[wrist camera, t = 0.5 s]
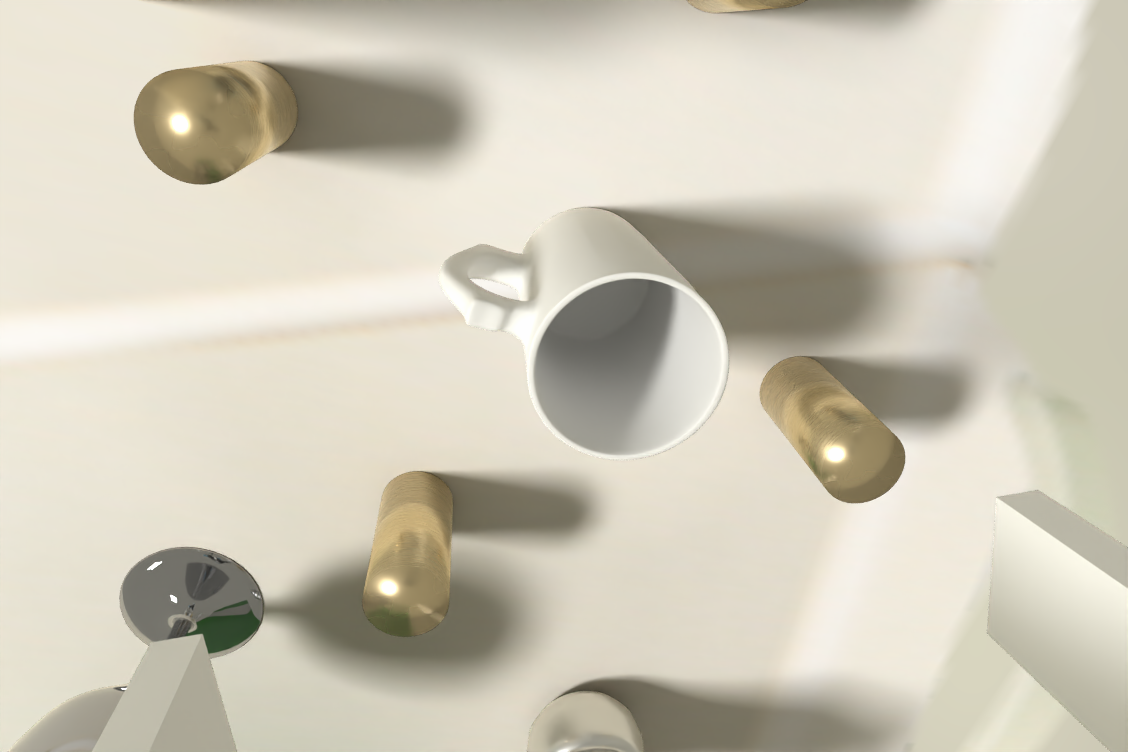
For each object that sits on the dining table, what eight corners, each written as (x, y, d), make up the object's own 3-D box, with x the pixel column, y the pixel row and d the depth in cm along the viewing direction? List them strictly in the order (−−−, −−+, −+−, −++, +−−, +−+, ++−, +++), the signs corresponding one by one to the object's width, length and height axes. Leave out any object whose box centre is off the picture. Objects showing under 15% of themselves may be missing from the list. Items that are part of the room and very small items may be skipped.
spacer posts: (751, -97, 33) (831, -134, 26) (833, 409, 42) (909, 489, 35) (192, 75, 33) (113, 88, 26) (396, 540, 43) (380, 646, 35)
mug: (678, 228, 38) (762, 309, 27) (625, 358, 40) (683, 481, 29) (467, 155, 36) (466, 210, 25) (424, 296, 38) (404, 405, 27)
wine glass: (231, 685, 45) (126, 971, 31) (86, 629, 43) (-96, 913, 29) (297, 580, 43) (216, 838, 29) (148, 515, 41) (-16, 763, 27)
